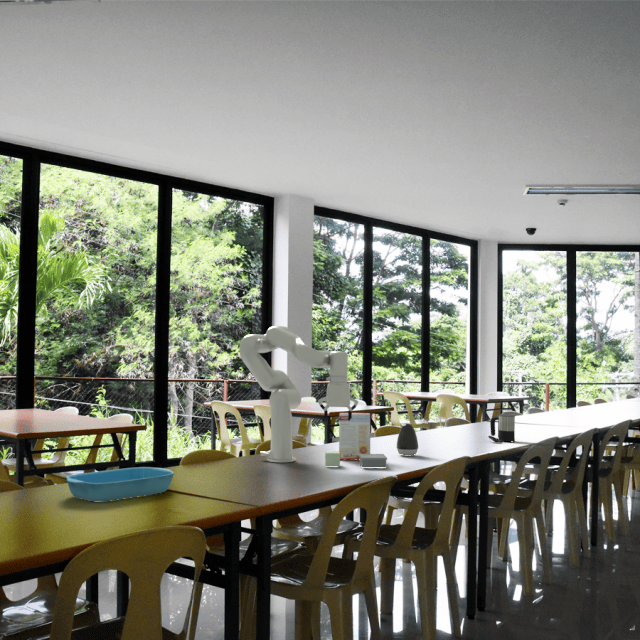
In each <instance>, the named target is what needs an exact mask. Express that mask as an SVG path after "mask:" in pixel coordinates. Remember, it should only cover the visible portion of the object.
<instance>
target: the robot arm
mask: <svg viewBox="0 0 640 640" xmlns="http://www.w3.org/2000/svg"><path fill="white" fill-rule="evenodd" d="M238 348H239V356H240V359H241V361H242V362H243V364H244V366H245V367H247V369H248V370H249V372H250V373H251V374H252V376H253V377H254V379H255V381H256V382H257V383H258V385H259V387H260V388H262V390H264V391H265V392H272V393H271V394H270V396H269V402H268V403H269V409H270V410H269V411H270V450H267V451H263V450H262V451H260V456H261V457H266V461H267V462H271V463H284V464H285V463H292V462H295V461H296V457H293V415H292V411H291V410H294V409H297V408H298V407H299V406H300V405H301V404H302V396H301V395H302V394H301V393H300V391H299V389H298V388H297V387H296V385H295V384H294V383H293V381H292V380H291V378H290V377H289V376H288V375H287V374H286V372H284V371H283V370H279V369H273V368H272V367H271V366H270V365H269V363H268V361H267V360H266V359H265V358H264V357H262V355H261V354H265V353H269V352H272V351H275V350H277V349H281V350H282V351H286V352H287V353H289V354H291V355H292V357H294V358H295V359H297V360H298V361H300V362H301V363H303V364H305V365H307V366H309V367H311V368H314V369H327V368H329V376H328V377H326V378H325V379H326V381H327V382H328V383H327V387H326V396H324V397H322V398H320V399H318V400H317V402H318V403H317V404H319V406H320V408H321V409H322V410H323V412H324V413H323V419H325V421H328V412H329V411H328V410H329V408H347V409H348V412H347V413H348V421H350V419H352V413H353V411H354V409H356V408H357V406H358V404H359V400H357V399H355V398H353V397H351V389H350V383H348V366H349V365H348V361H349V360H348V359H349V358H348V352H346V351H339V350H338V351H337V350H336V351H329V350H317V349H315V348H313V347H311V346H309V345H307V344H306V343H304V341H303V338H302V337H301V336H299V335H297V334H295V333H293V332H292V330H291V329H290V328H289V327H287V326H281V325H272V326H270V327H269V328H268V329H267V330H266V332H265V334H258V333H257V334H256V333H253V334H247V335H245V336H244V337H243V338H242V339H241V340H240V343H239V346H238ZM322 402H325V403H326V405H325V406H324V404H323V403H322ZM351 402H353V405H352V406H351Z"/></svg>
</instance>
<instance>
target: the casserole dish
mask: <svg viewBox="0 0 640 640" xmlns="http://www.w3.org/2000/svg"><path fill="white" fill-rule="evenodd" d="M174 475H175V472H174V471H172V469H170V468H169V469H168V468H164V467H163V468H162V467H151V466H139V467H126V468H118V469H108V470H99V471H92V472H84V473H76V474H71V475H67V476H66V482H67V485H68V489H69V492H70V493H71V494H72V496H73V497H74V498H76V497H78V498H77V499H79V498H82V499H85V500H84V501H86V500H89V501H88V502H90V501H110V500H117V499H123V498H130V497H137V496H143V497H145V496H144V495H149V496H152V495H151V494H155V495H157V494H156V493H160V494H163V493H162V492H164V493H165V492H167V490H168V489H169V488H170V487H171V483H172V481H173V478H174ZM137 498H138V497H137ZM82 499H81V500H82Z"/></svg>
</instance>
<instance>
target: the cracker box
mask: <svg viewBox="0 0 640 640" xmlns="http://www.w3.org/2000/svg"><path fill="white" fill-rule="evenodd" d="M338 417H339V418H338V419H339V420H338V421H339V422H338V425H339V426H338V428H339V429H338V431H339V433H338V442H339V443H338V445H339V446H338V451H339V452H340V459H360V457H359V454H371V413H368V412H366V413H365V412H352V419H350V421H348V412H340V413H339V415H338Z"/></svg>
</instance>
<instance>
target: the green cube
mask: <svg viewBox="0 0 640 640" xmlns="http://www.w3.org/2000/svg"><path fill="white" fill-rule="evenodd" d="M324 459H325V460H324V467H325V466H340V467H341V460H340V452H339V450H338V451H336V450H334V451H333V450H332V451H330V450H329V451H328V450H327V451H324Z"/></svg>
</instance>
